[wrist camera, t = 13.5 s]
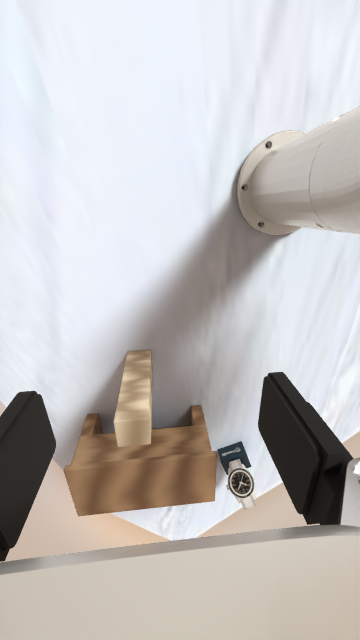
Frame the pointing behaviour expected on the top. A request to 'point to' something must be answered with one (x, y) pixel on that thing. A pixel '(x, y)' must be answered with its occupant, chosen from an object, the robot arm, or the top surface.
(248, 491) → the watch
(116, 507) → the cabinet
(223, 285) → the top surface
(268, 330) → the top surface
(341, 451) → the robot arm
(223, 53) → the top surface
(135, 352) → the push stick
